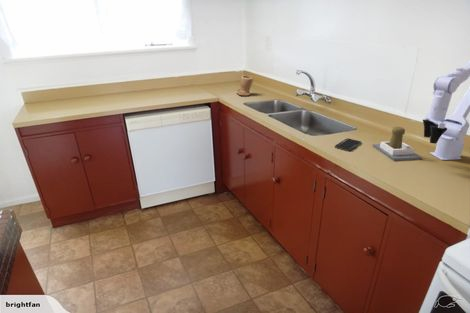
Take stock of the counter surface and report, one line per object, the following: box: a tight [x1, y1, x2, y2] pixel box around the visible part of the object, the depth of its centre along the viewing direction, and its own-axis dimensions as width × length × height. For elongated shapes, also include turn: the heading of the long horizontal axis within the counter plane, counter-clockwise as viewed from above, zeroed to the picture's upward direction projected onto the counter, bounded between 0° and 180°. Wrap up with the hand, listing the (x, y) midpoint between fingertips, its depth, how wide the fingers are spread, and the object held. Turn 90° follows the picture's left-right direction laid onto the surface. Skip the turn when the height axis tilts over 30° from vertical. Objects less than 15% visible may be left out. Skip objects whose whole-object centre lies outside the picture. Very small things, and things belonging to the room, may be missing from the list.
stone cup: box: [235, 75, 254, 97], centre depth 249 cm, size 15×12×15 cm
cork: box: [388, 126, 406, 149], centre depth 140 cm, size 6×6×11 cm
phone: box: [334, 138, 363, 152], centre depth 150 cm, size 8×1×15 cm
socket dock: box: [372, 140, 422, 162], centre depth 142 cm, size 13×17×4 cm
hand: (429, 140), depth 128 cm, fingers open, 7 cm apart
